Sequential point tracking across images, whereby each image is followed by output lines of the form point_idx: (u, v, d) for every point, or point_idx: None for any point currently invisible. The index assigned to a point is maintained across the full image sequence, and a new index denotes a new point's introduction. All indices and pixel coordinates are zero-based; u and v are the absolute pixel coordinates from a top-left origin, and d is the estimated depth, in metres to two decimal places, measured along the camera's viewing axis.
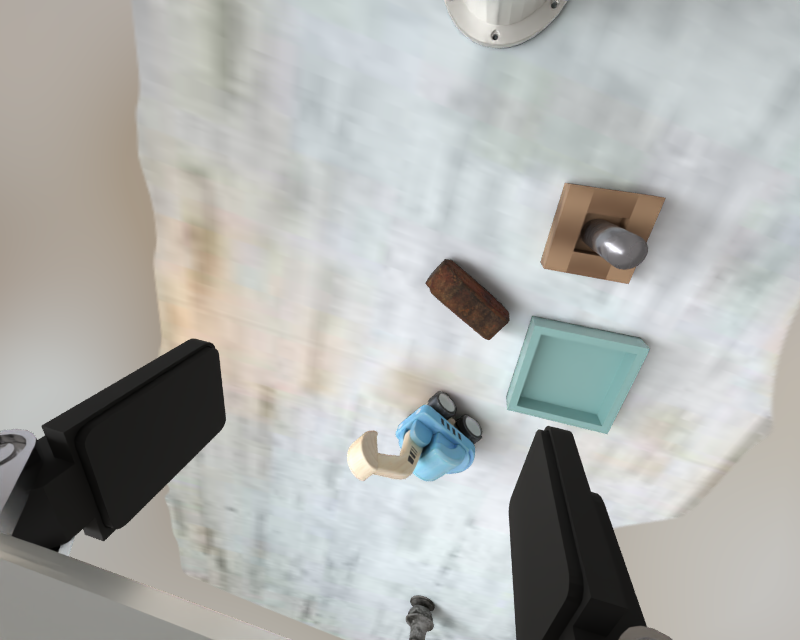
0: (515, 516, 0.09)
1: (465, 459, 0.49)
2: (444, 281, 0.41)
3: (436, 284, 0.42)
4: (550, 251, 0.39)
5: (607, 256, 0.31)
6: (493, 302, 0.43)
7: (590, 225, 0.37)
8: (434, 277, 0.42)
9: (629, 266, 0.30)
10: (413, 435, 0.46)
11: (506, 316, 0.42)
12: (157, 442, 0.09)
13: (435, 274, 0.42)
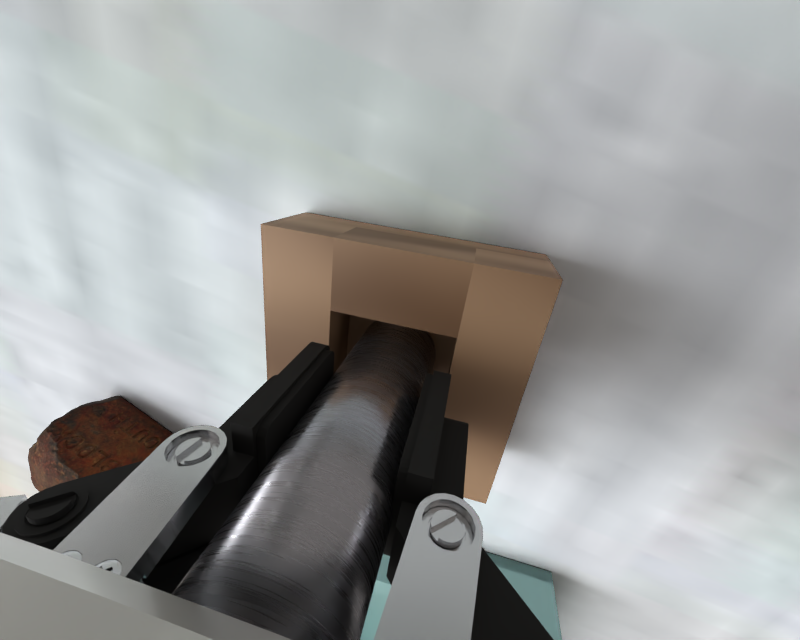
0: None
1: None
2: (43, 472, 0.17)
3: (36, 475, 0.18)
4: None
5: None
6: None
7: None
8: (29, 459, 0.18)
9: None
10: None
11: None
12: None
13: (31, 453, 0.18)
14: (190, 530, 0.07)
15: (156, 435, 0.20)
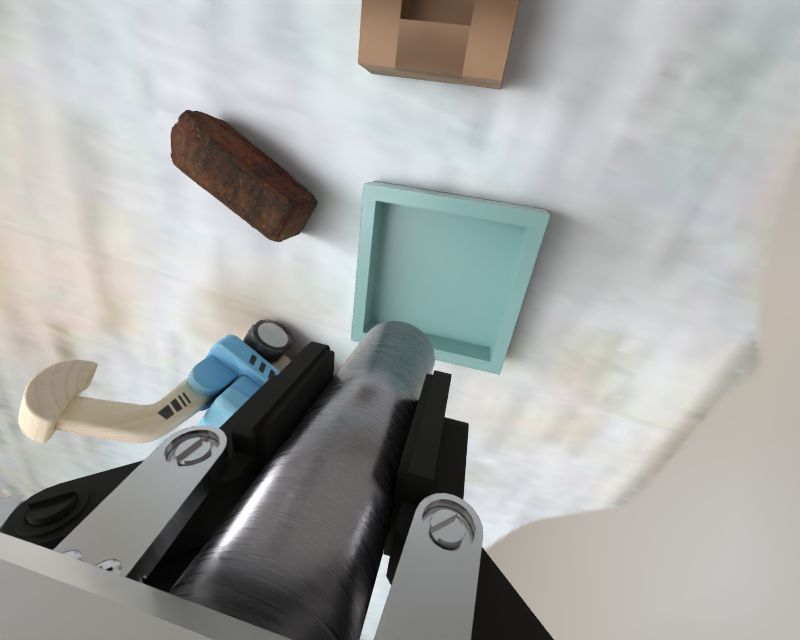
0: None
1: None
2: (184, 139, 0.25)
3: (176, 147, 0.26)
4: (362, 23, 0.21)
5: None
6: (278, 179, 0.27)
7: None
8: (172, 136, 0.26)
9: None
10: (190, 377, 0.29)
11: (293, 197, 0.26)
12: None
13: (173, 131, 0.26)
14: (190, 530, 0.07)
15: (250, 145, 0.28)
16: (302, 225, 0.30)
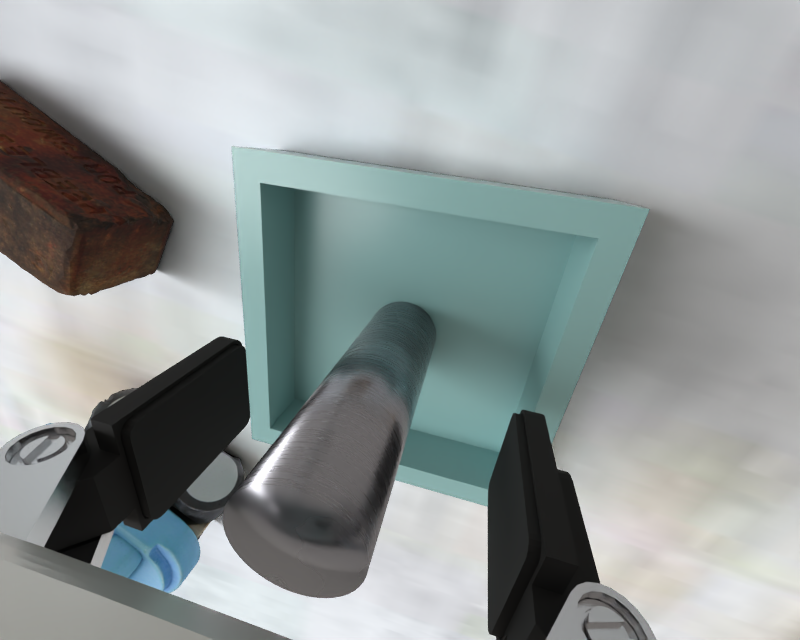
0: (492, 496, 0.09)
1: (151, 571, 0.18)
2: None
3: None
4: None
5: None
6: (71, 179, 0.14)
7: (367, 324, 0.14)
8: None
9: (319, 590, 0.07)
10: None
11: (87, 214, 0.13)
12: (191, 436, 0.09)
13: None
14: (63, 528, 0.07)
15: (41, 120, 0.16)
16: (151, 260, 0.17)
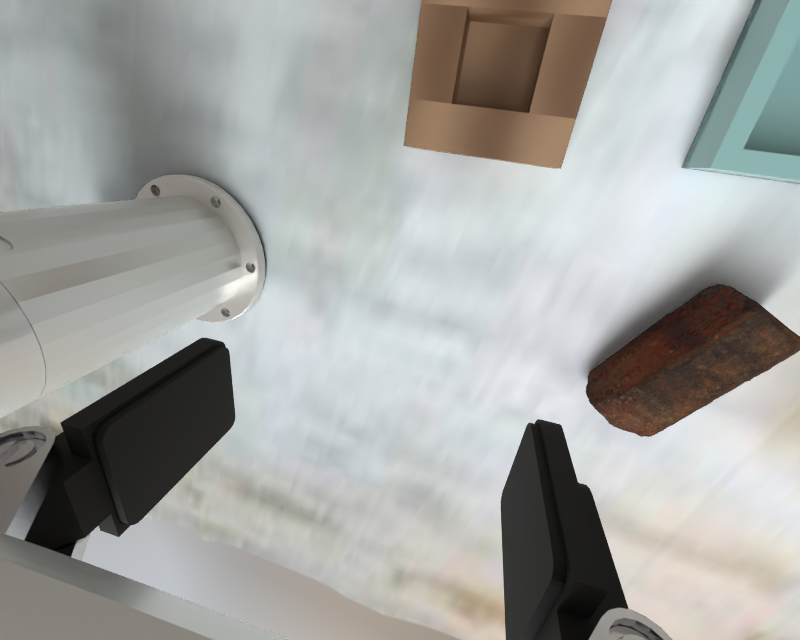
0: (506, 508, 0.09)
1: None
2: (629, 415, 0.23)
3: (634, 426, 0.23)
4: (524, 160, 0.20)
5: None
6: (694, 323, 0.21)
7: None
8: (619, 426, 0.23)
9: None
10: None
11: (740, 305, 0.19)
12: (170, 439, 0.09)
13: (613, 423, 0.24)
14: (36, 533, 0.07)
15: (626, 350, 0.25)
16: None
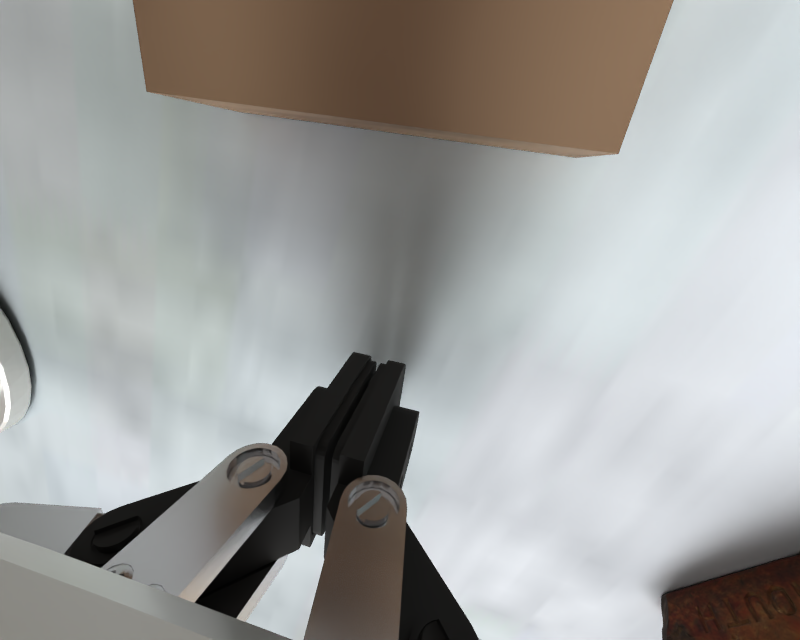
0: None
1: None
2: None
3: None
4: (498, 130, 0.06)
5: None
6: None
7: None
8: None
9: None
10: None
11: None
12: None
13: None
14: (242, 552, 0.07)
15: (765, 586, 0.11)
16: None
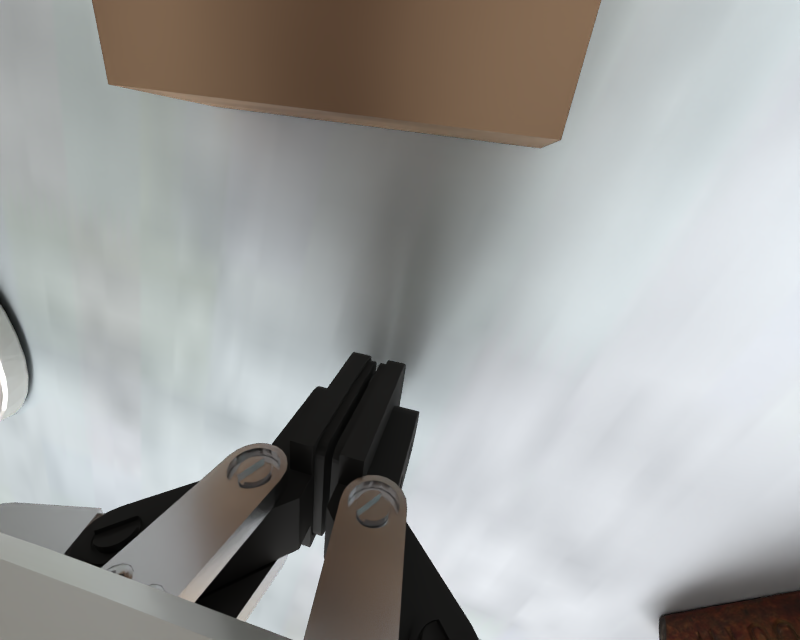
0: None
1: None
2: None
3: None
4: (441, 117, 0.06)
5: None
6: None
7: None
8: None
9: None
10: None
11: None
12: None
13: None
14: (242, 553, 0.07)
15: (770, 619, 0.11)
16: None
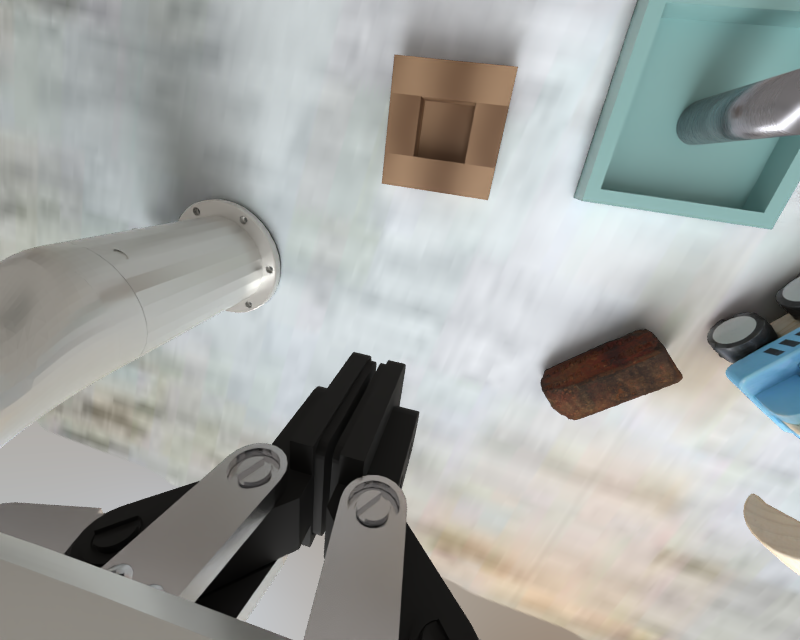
0: None
1: None
2: (566, 402, 0.33)
3: (567, 411, 0.33)
4: (463, 194, 0.29)
5: None
6: (624, 350, 0.31)
7: (691, 138, 0.25)
8: (557, 409, 0.33)
9: None
10: (789, 419, 0.24)
11: (653, 345, 0.29)
12: None
13: (553, 406, 0.34)
14: (242, 553, 0.07)
15: (575, 359, 0.35)
16: None
